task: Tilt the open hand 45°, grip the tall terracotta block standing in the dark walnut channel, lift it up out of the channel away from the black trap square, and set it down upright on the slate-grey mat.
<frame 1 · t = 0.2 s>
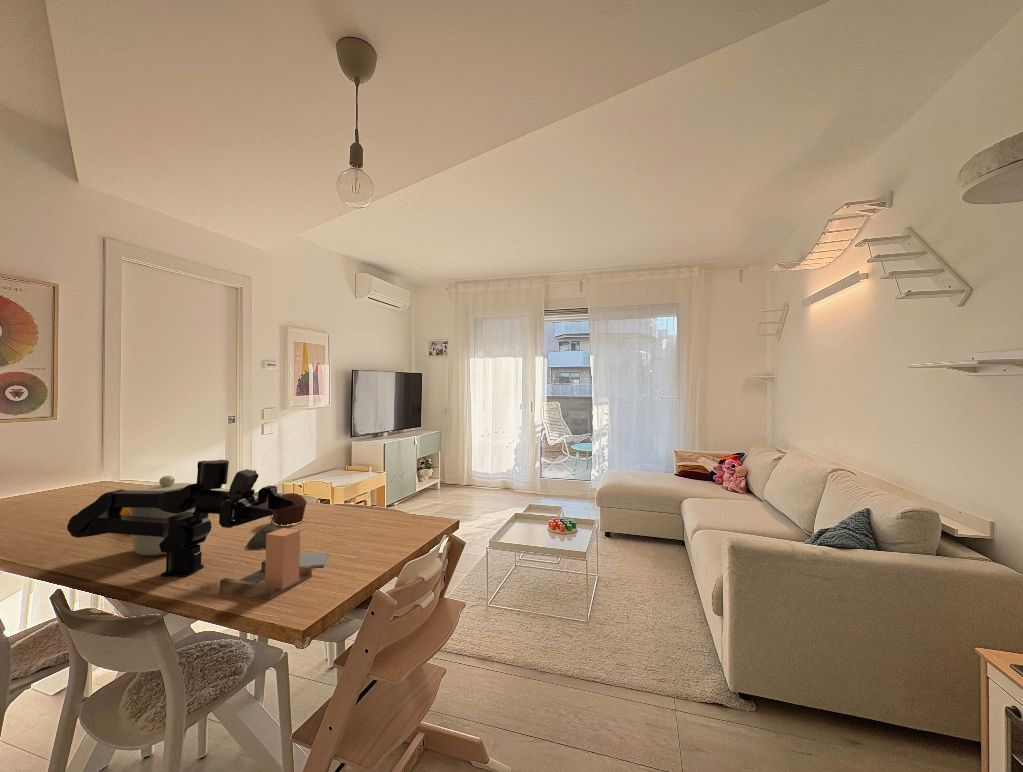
hand: (283, 507, 108), 17 cm above the table, tool horizontal, fingers open, 9 cm apart
slate mat: (308, 561, 116), on the table
terracotta block: (282, 583, 101), point 1 cm above the table, touching walnut channel
muffin: (288, 523, 152), on the table
walnut channel: (267, 583, 102), on the table
sword in stone: (266, 545, 129), on the table
canister: (164, 550, 124), on the table
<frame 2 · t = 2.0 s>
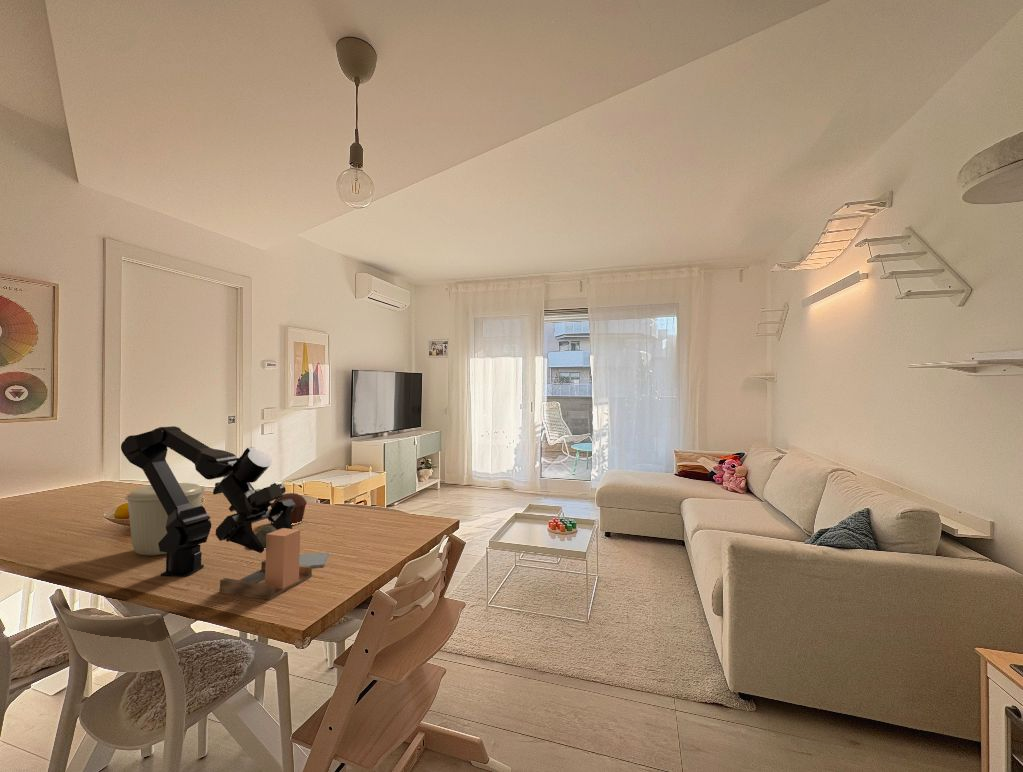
hand: (278, 545, 102), 9 cm above the table, tool tilted 45°, fingers open, 9 cm apart
nothing on the table moved.
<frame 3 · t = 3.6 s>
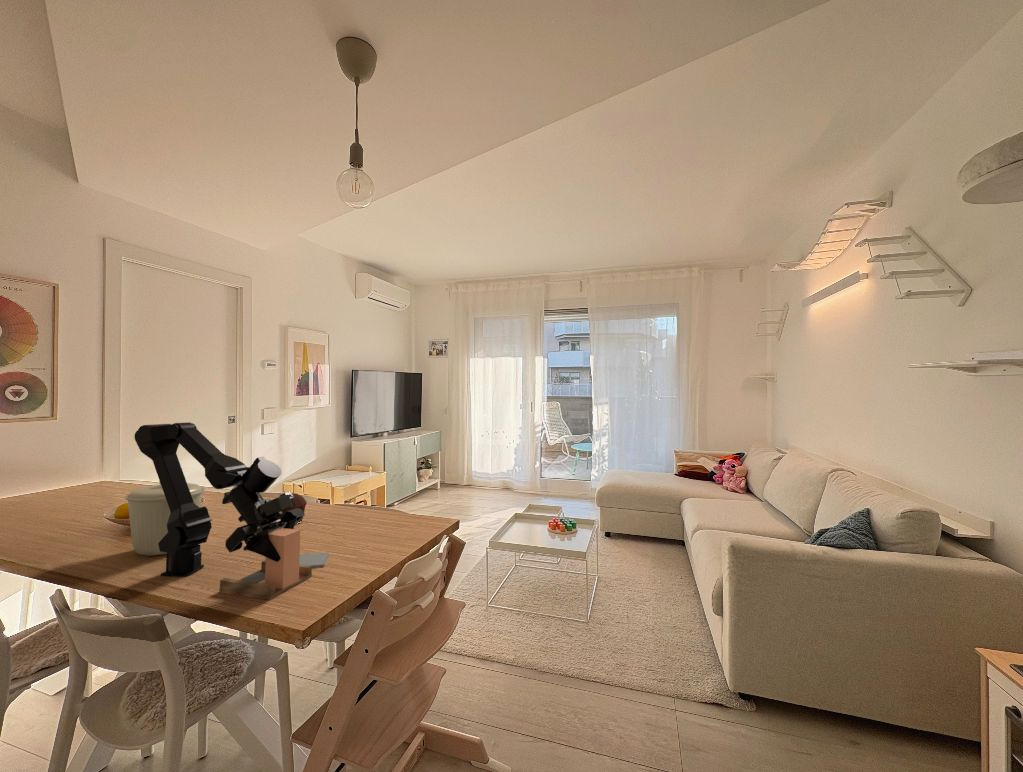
hand: (287, 556, 101), 7 cm above the table, tool tilted 45°, fingers closed on terracotta block, 5 cm apart
terracotta block: (282, 583, 101), point 1 cm above the table, touching gripper, walnut channel
everything else where it was.
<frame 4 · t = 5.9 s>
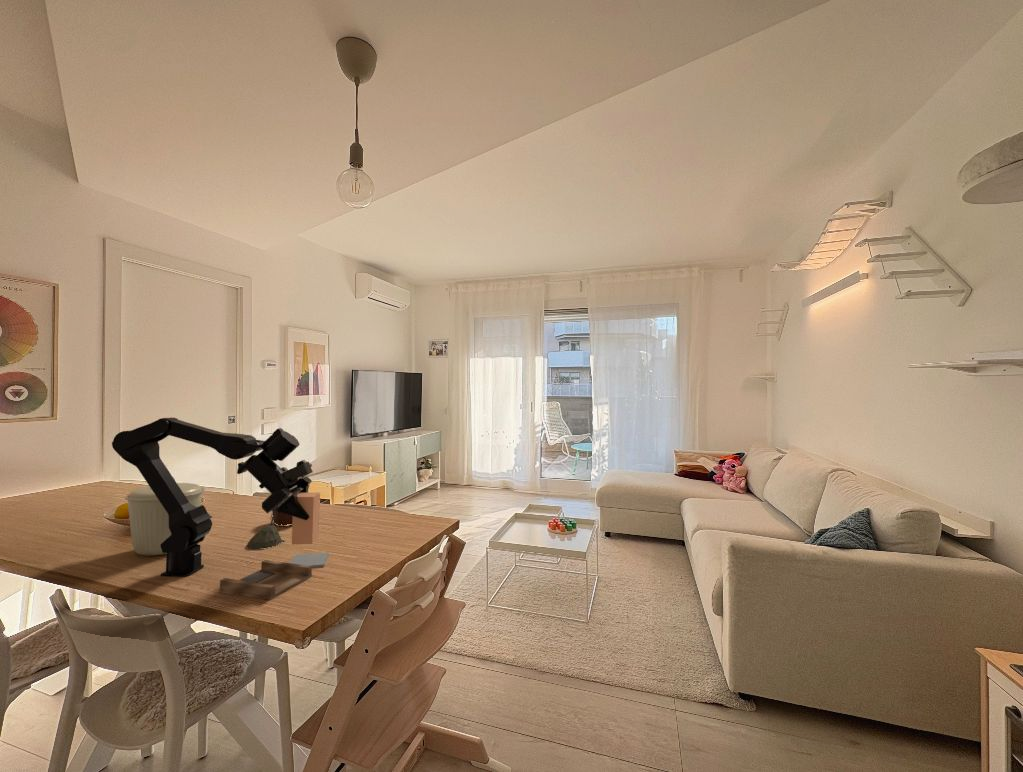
hand: (311, 515, 113), 13 cm above the table, tool tilted 45°, fingers closed on terracotta block, 5 cm apart
terracotta block: (305, 541, 112), point 7 cm above the table, touching gripper
everything else where it was.
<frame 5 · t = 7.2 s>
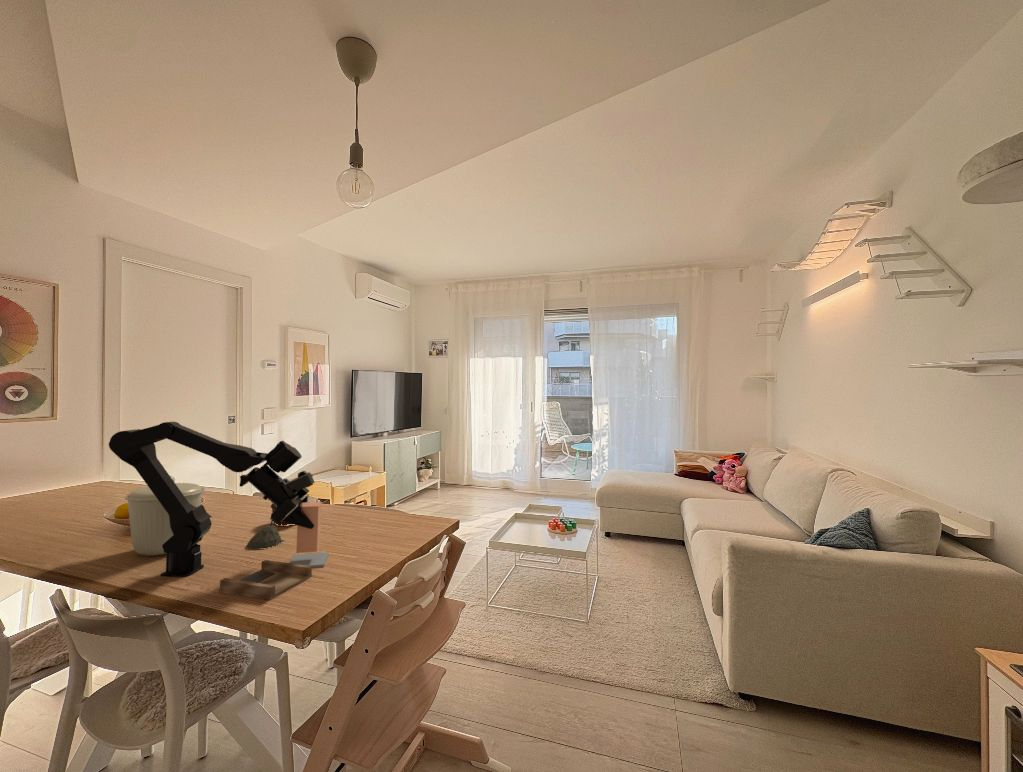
hand: (314, 524, 117), 10 cm above the table, tool tilted 45°, fingers closed on terracotta block, 5 cm apart
terracotta block: (308, 549, 116), point 3 cm above the table, touching gripper
everything else where it was.
when the fingers open (8 cm above the table, at t = 8.3 s): terracotta block drops 1 cm, resting on slate mat.
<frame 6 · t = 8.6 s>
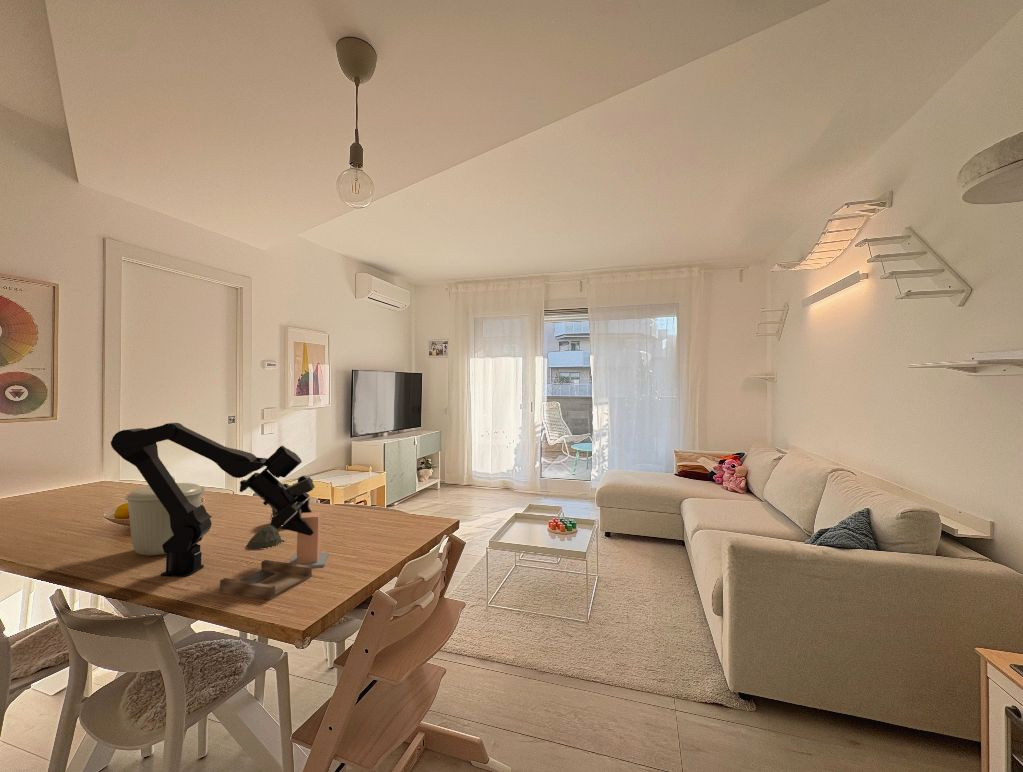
hand: (314, 529, 117), 9 cm above the table, tool tilted 45°, fingers open, 8 cm apart
terracotta block: (308, 559, 116), point 1 cm above the table, touching slate mat
everything else where it was.
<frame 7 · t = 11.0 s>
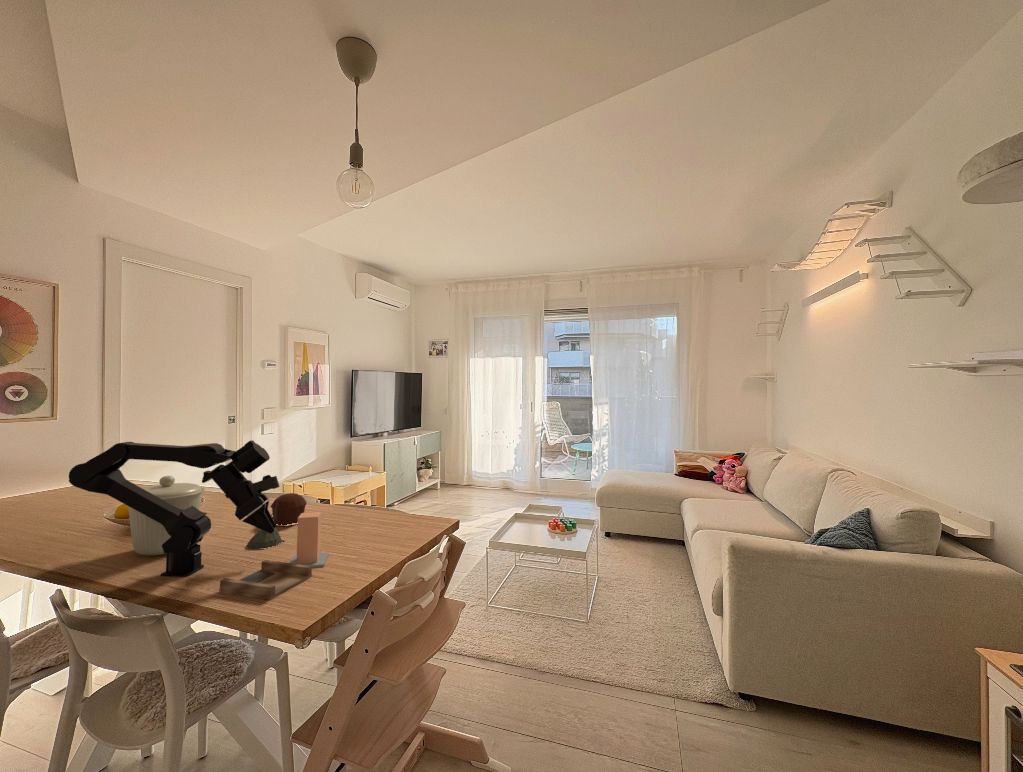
hand: (273, 529, 114), 9 cm above the table, tool tilted 40°, fingers open, 9 cm apart
nothing on the table moved.
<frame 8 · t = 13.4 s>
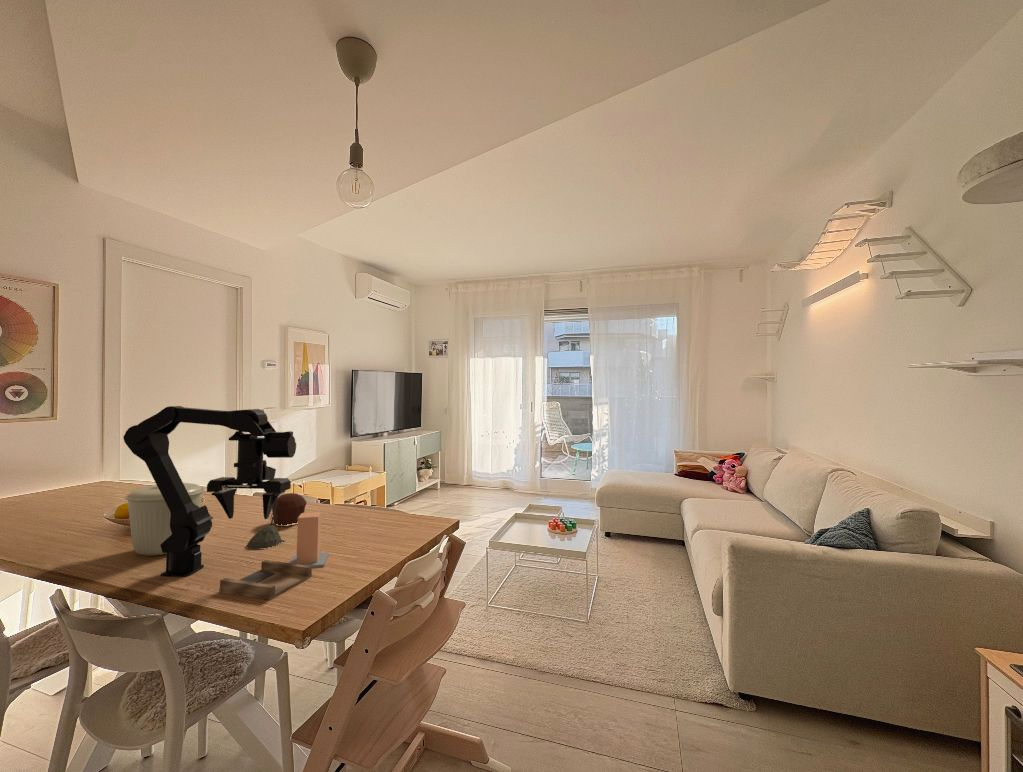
hand: (248, 518, 111), 13 cm above the table, tool pointing down, fingers open, 9 cm apart
nothing on the table moved.
at the end: terracotta block inside the target area on the slate mat (0.0 cm from its centre), point 0.6 cm above the slate mat's base; terracotta block tilted 0°; the gripper is holding nothing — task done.
